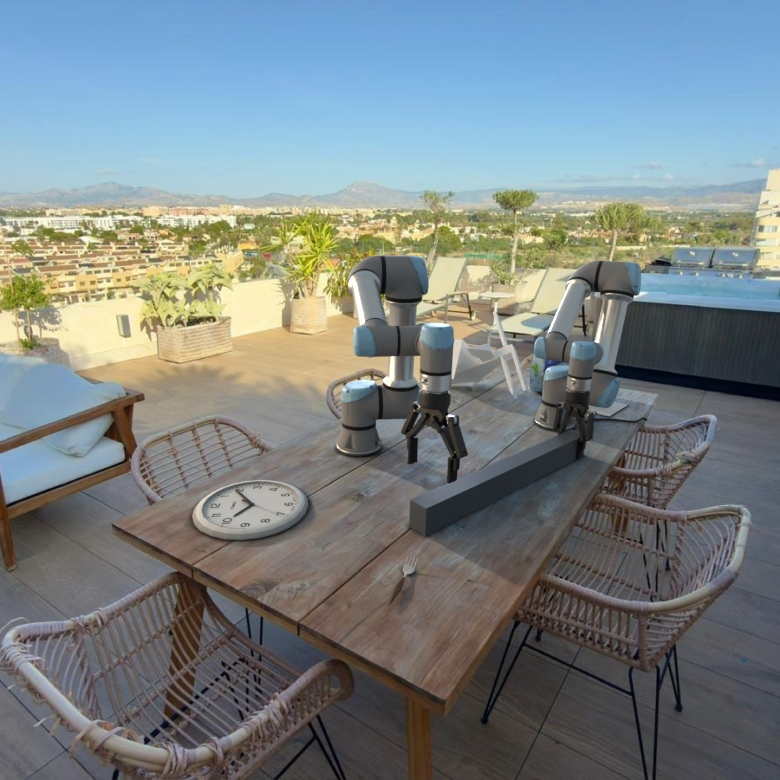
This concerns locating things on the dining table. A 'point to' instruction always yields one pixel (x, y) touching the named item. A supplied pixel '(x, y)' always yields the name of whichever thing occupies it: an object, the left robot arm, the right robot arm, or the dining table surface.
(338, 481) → the dining table surface
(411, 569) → the fork
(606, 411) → the invitation card
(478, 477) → the bar
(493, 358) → the white plastic object
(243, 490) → the wall clock
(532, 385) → the lunch box
